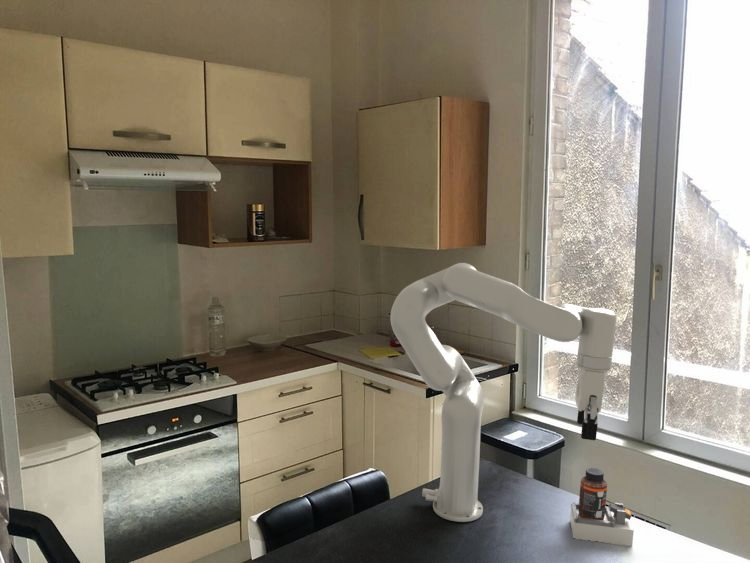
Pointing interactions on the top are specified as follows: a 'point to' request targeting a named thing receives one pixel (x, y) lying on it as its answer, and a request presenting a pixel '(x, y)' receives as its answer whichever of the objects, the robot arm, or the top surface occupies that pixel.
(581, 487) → the supplement bottle
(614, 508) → the breaker lever
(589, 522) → the box
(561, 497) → the top surface
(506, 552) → the top surface
